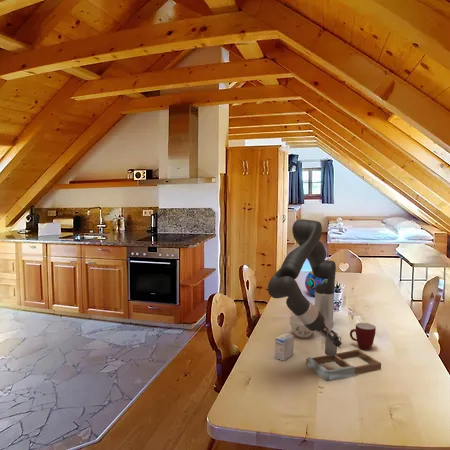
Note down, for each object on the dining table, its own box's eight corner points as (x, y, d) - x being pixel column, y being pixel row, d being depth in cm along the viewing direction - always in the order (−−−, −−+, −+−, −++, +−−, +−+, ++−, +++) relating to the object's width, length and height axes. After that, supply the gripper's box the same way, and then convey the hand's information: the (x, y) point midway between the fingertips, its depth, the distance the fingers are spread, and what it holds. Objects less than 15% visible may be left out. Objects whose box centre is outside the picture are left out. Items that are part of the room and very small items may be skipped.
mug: (347, 348, 166) (348, 326, 165) (350, 342, 173) (351, 320, 172) (373, 353, 161) (374, 330, 160) (375, 346, 169) (376, 324, 168)
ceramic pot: (303, 298, 239) (304, 274, 238) (306, 290, 256) (306, 268, 254) (332, 300, 234) (333, 276, 232) (333, 292, 251) (334, 270, 249)
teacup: (312, 343, 172) (313, 326, 171) (285, 338, 177) (286, 321, 177) (320, 331, 185) (321, 315, 184) (295, 327, 191) (295, 311, 190)
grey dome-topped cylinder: (322, 352, 148) (323, 331, 147) (331, 350, 149) (332, 330, 149) (329, 356, 144) (330, 336, 143) (339, 355, 145) (340, 334, 144)
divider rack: (305, 365, 151) (306, 356, 151) (358, 355, 160) (358, 347, 160) (326, 381, 138) (327, 372, 138) (382, 370, 147) (382, 361, 147)
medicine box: (284, 351, 163) (284, 332, 162) (293, 355, 160) (294, 334, 159) (274, 358, 157) (274, 338, 156) (284, 361, 154) (284, 340, 153)
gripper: (327, 313, 135) (353, 342, 141) (305, 302, 149) (330, 328, 154) (313, 330, 134) (341, 358, 140) (292, 317, 147) (318, 343, 153)
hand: (335, 342), depth 147 cm, fingers closed on grey dome-topped cylinder, 4 cm apart
